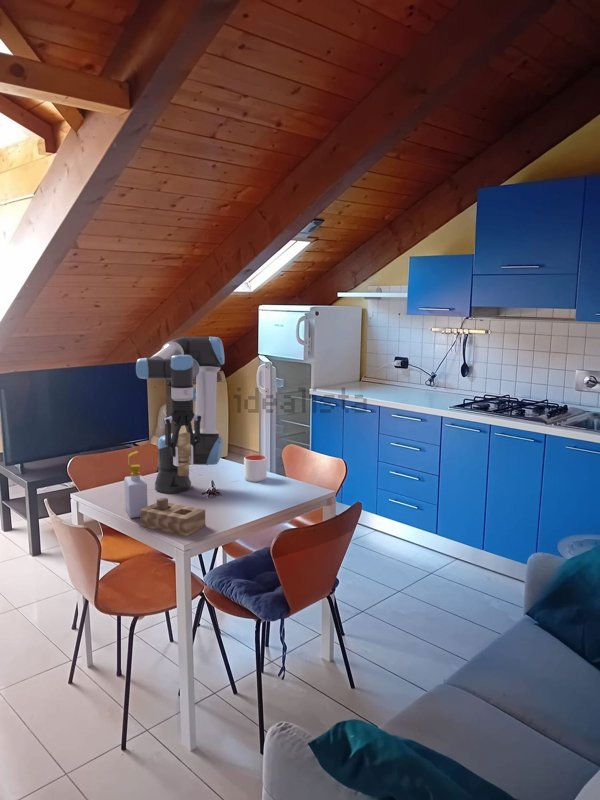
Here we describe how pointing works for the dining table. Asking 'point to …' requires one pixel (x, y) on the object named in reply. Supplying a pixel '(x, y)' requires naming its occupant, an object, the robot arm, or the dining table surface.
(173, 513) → the block
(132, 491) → the soap bottle
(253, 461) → the cup
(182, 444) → the leg
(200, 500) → the dining table surface
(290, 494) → the dining table surface
